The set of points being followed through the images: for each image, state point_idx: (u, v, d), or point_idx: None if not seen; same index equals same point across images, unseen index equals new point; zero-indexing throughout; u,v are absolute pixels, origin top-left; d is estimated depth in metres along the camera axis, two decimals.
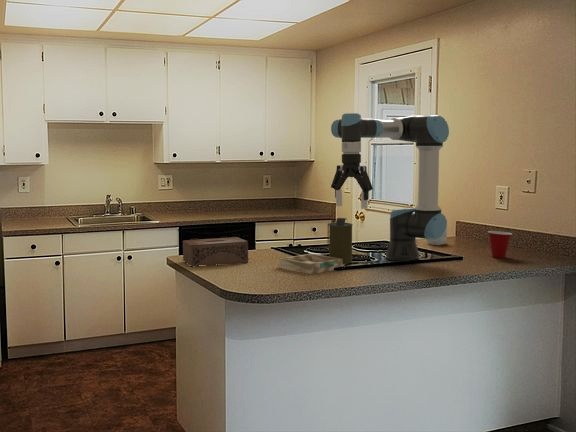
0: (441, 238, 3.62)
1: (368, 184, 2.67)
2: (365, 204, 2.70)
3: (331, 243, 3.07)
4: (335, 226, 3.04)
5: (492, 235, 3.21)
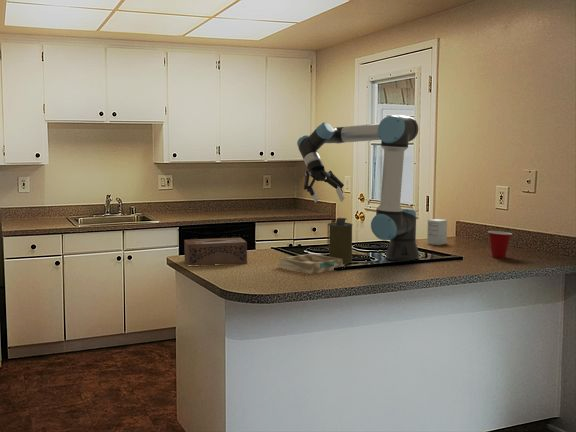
0: (441, 238, 3.62)
1: (304, 184, 3.15)
2: (315, 197, 3.12)
3: (331, 243, 3.07)
4: (335, 226, 3.04)
5: (492, 235, 3.21)
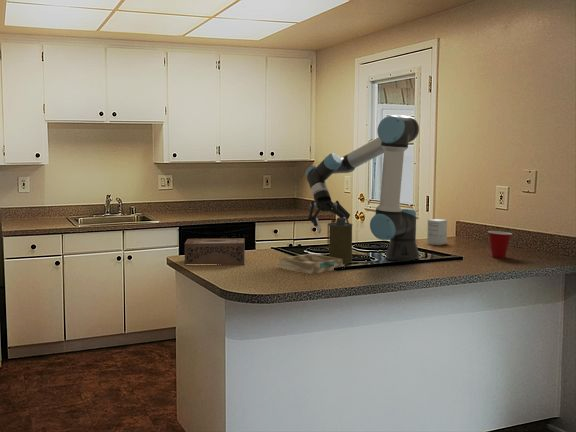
0: (441, 238, 3.62)
1: None
2: (318, 228, 3.11)
3: (331, 243, 3.07)
4: (335, 226, 3.04)
5: (492, 235, 3.21)
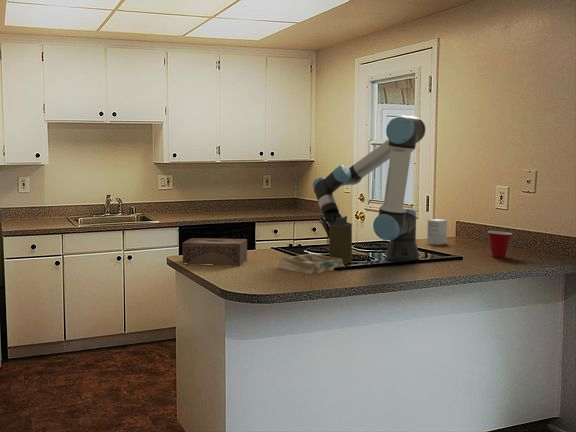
0: (441, 238, 3.62)
1: None
2: None
3: (331, 243, 3.07)
4: (335, 226, 3.04)
5: (492, 235, 3.21)
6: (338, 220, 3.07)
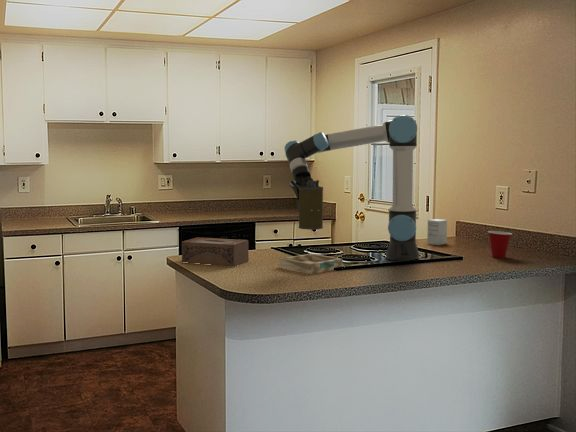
0: (441, 238, 3.62)
1: None
2: None
3: (301, 207, 2.93)
4: (305, 189, 2.90)
5: (492, 235, 3.21)
6: (309, 183, 2.93)
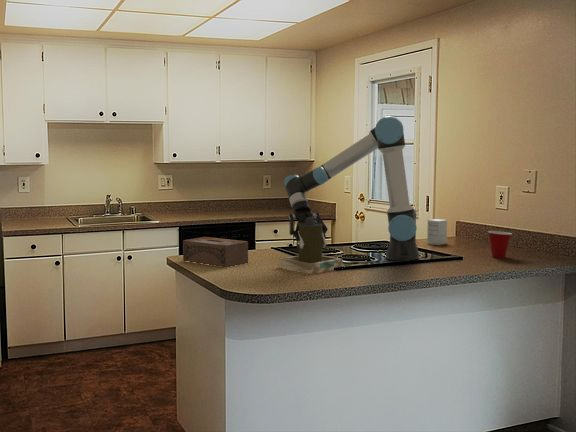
0: (441, 238, 3.62)
1: (290, 230, 2.97)
2: (300, 243, 2.93)
3: None
4: (304, 226, 2.92)
5: (492, 235, 3.21)
6: (308, 220, 2.95)
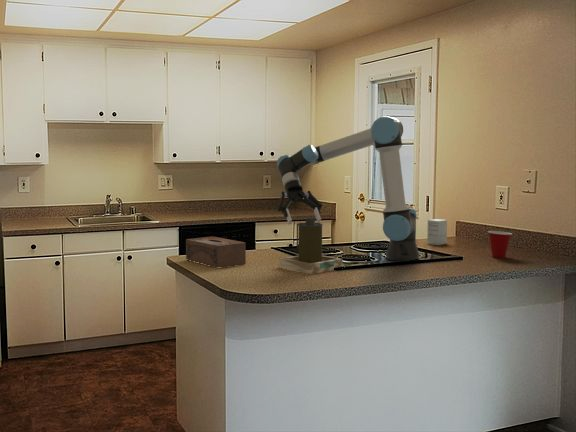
0: (441, 238, 3.62)
1: None
2: (288, 219, 3.00)
3: (300, 244, 2.94)
4: (304, 226, 2.92)
5: (492, 235, 3.21)
6: (308, 220, 2.95)
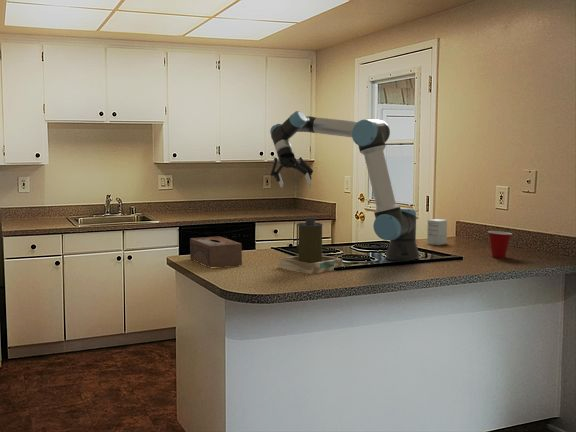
0: (441, 238, 3.62)
1: (271, 171, 3.18)
2: (280, 183, 3.14)
3: (300, 244, 2.94)
4: (304, 226, 2.92)
5: (492, 235, 3.21)
6: (308, 220, 2.95)
